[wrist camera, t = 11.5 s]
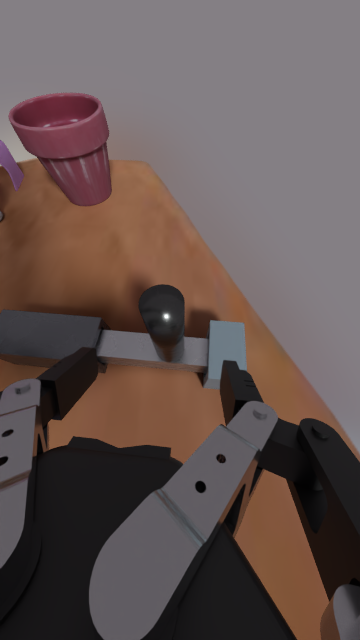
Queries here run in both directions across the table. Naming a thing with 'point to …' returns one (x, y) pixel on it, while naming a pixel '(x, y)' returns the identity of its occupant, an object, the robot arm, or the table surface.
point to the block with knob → (156, 337)
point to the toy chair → (10, 166)
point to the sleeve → (46, 337)
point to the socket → (224, 349)
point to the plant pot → (68, 142)
